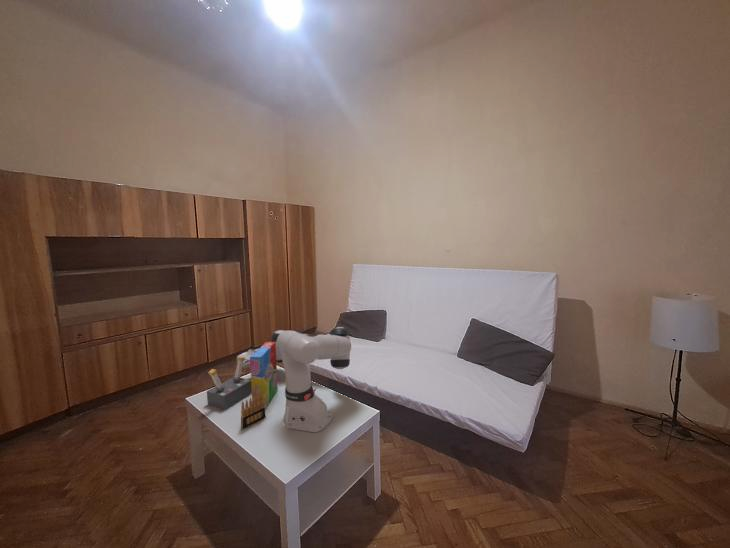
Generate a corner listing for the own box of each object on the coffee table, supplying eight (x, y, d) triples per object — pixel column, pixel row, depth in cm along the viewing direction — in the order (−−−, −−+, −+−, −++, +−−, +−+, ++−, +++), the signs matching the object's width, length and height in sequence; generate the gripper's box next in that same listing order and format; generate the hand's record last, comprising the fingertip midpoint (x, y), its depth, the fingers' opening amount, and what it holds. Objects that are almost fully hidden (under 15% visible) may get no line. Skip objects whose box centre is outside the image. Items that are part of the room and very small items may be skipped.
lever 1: (225, 388, 141) (216, 369, 136) (221, 392, 140) (212, 373, 134) (220, 387, 143) (211, 368, 138) (217, 390, 141) (207, 372, 136)
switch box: (252, 392, 152) (251, 380, 151) (224, 410, 136) (223, 395, 136) (235, 388, 157) (235, 375, 156) (207, 404, 141) (206, 390, 141)
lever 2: (240, 381, 150) (245, 357, 152) (236, 382, 148) (241, 357, 150) (235, 380, 151) (241, 356, 154) (232, 380, 149) (237, 357, 152)
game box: (263, 412, 134) (260, 357, 131) (252, 412, 134) (248, 357, 131) (277, 389, 155) (275, 341, 152) (268, 389, 155) (265, 341, 152)
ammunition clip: (243, 429, 122) (241, 403, 121) (241, 427, 123) (239, 401, 122) (265, 417, 130) (264, 392, 129) (263, 416, 132) (262, 391, 130)
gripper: (275, 364, 162) (257, 375, 150) (248, 358, 170) (229, 368, 158) (274, 353, 161) (256, 363, 149) (248, 348, 170) (228, 357, 157)
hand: (242, 366), depth 153 cm, fingers closed
